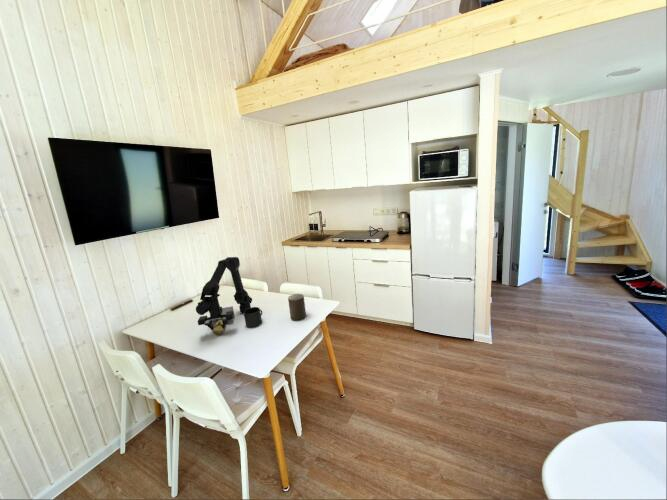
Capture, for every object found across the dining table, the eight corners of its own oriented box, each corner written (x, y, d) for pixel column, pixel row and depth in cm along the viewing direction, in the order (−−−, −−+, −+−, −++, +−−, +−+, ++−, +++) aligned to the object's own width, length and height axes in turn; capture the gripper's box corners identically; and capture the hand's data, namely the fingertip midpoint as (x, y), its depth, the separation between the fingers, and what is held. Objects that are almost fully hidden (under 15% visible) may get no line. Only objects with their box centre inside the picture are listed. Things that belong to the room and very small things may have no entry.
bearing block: (215, 320, 175) (213, 309, 173) (234, 316, 177) (232, 305, 175) (212, 327, 165) (209, 316, 163) (232, 323, 168) (230, 312, 166)
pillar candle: (303, 321, 163) (300, 298, 159) (288, 320, 165) (285, 298, 161) (308, 313, 172) (305, 291, 168) (293, 313, 174) (290, 291, 170)
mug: (268, 320, 168) (266, 306, 166) (253, 329, 159) (250, 315, 156) (258, 317, 173) (256, 304, 171) (242, 326, 164) (240, 312, 162)
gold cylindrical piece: (218, 324, 167) (216, 316, 166) (227, 323, 168) (226, 314, 167) (213, 336, 154) (211, 327, 153) (224, 334, 155) (222, 325, 154)
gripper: (232, 297, 162) (237, 321, 166) (199, 303, 158) (205, 327, 162) (230, 305, 152) (235, 330, 155) (194, 311, 148) (200, 337, 152)
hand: (219, 331), depth 156 cm, fingers closed on gold cylindrical piece, 5 cm apart
